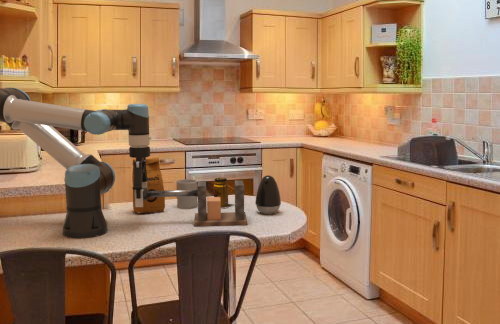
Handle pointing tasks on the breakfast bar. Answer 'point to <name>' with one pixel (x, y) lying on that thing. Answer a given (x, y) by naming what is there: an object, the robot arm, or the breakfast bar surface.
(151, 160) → the coffee package
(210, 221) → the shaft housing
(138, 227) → the breakfast bar surface
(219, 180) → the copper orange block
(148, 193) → the shaft
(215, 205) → the block
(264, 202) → the black egg shaped speaker
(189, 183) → the mug
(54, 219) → the breakfast bar surface
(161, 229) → the breakfast bar surface
